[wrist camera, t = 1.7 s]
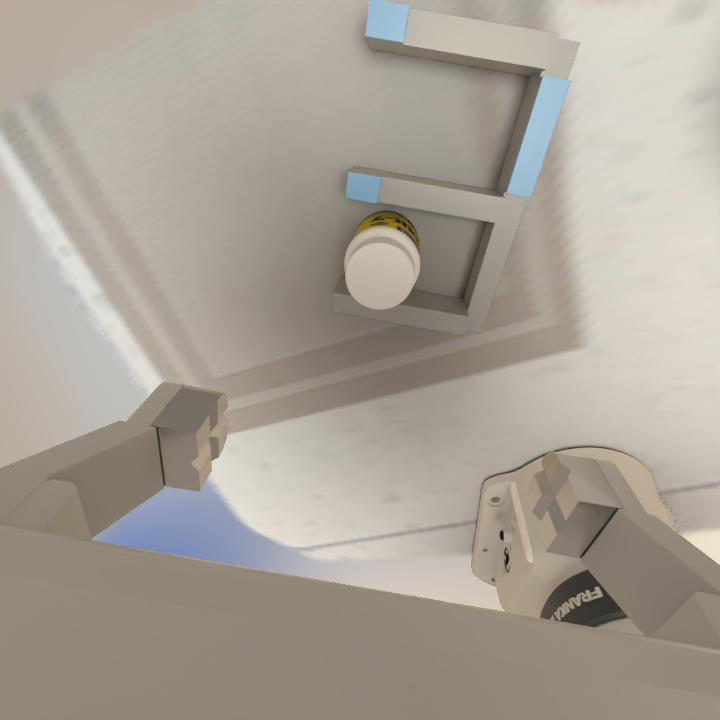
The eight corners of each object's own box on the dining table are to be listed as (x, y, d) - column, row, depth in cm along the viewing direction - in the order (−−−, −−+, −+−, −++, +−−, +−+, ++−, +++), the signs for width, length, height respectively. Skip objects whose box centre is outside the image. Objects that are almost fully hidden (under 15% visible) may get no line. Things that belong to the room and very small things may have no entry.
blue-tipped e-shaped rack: (476, 319, 33) (485, 342, 29) (338, 294, 33) (330, 315, 29) (564, 50, 24) (592, 36, 20) (375, 17, 24) (369, -2, 20)
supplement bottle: (429, 226, 29) (437, 258, 22) (401, 283, 32) (399, 329, 24) (369, 197, 29) (357, 221, 22) (344, 257, 31) (326, 297, 24)
